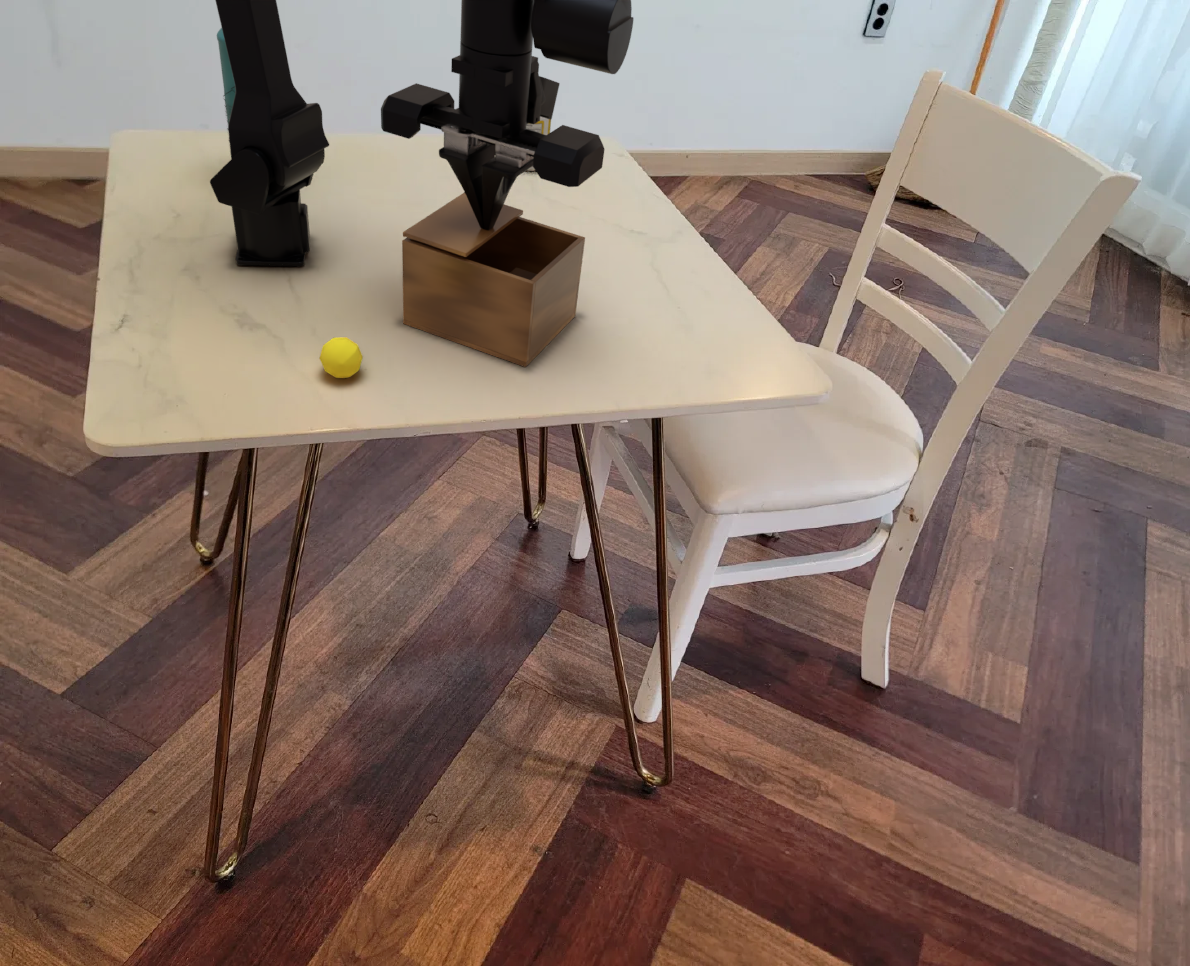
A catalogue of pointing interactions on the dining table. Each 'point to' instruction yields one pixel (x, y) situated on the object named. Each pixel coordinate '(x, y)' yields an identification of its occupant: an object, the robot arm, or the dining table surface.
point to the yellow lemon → (341, 357)
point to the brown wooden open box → (496, 290)
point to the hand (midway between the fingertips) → (487, 227)
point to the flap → (458, 227)
